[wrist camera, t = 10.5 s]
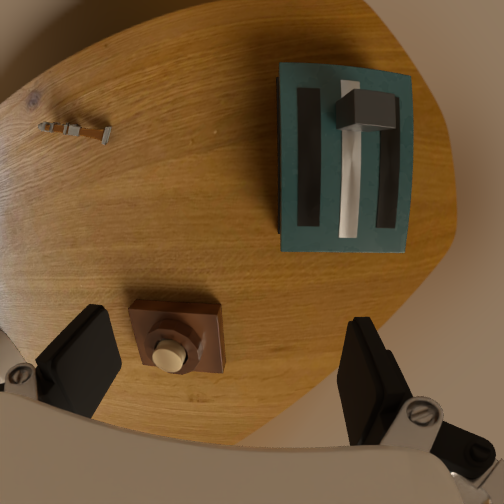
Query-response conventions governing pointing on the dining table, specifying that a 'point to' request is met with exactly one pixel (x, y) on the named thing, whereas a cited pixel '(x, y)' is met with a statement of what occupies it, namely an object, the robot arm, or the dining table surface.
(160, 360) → the button
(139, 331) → the control block
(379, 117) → the slider
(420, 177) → the dining table surface
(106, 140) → the wooden post with brackets
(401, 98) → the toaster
